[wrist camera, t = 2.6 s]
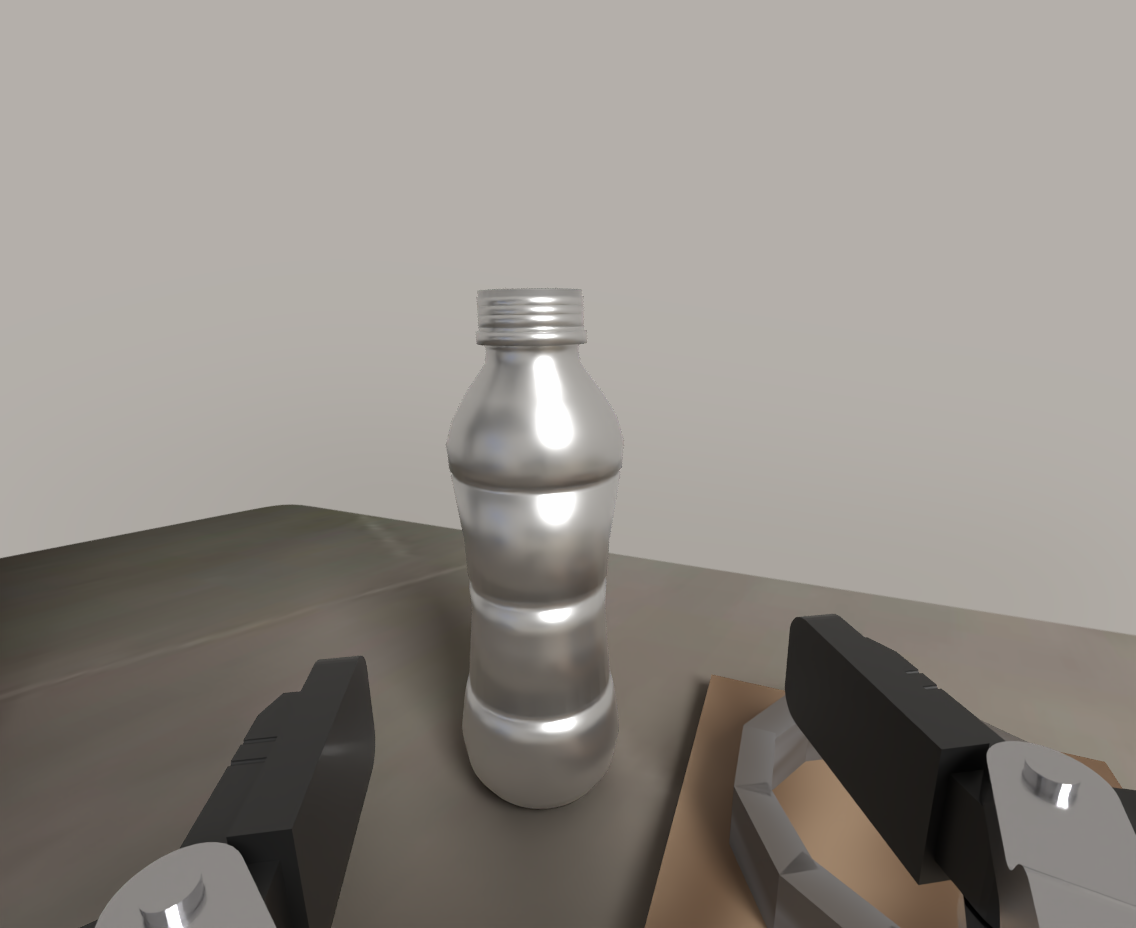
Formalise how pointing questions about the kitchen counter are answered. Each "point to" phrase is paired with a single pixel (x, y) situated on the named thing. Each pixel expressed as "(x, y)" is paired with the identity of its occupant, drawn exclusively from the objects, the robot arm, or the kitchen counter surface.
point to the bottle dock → (808, 812)
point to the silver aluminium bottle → (536, 550)
